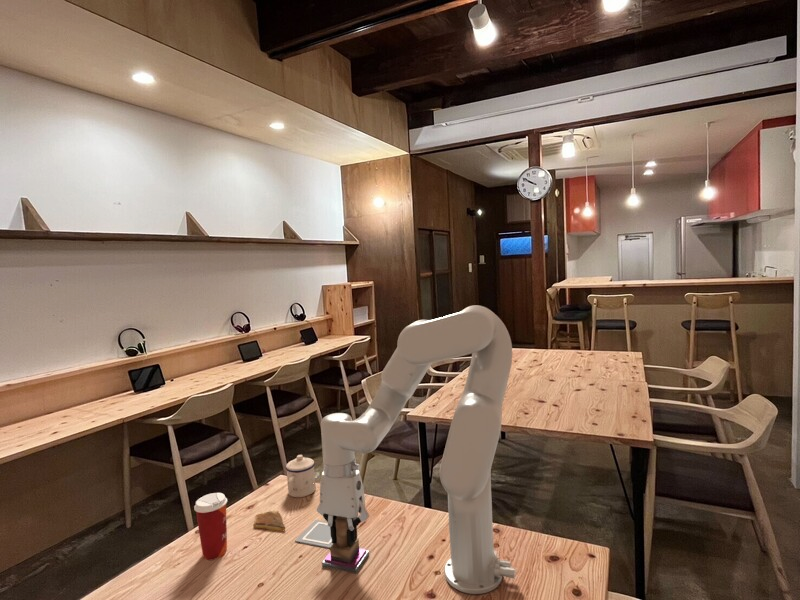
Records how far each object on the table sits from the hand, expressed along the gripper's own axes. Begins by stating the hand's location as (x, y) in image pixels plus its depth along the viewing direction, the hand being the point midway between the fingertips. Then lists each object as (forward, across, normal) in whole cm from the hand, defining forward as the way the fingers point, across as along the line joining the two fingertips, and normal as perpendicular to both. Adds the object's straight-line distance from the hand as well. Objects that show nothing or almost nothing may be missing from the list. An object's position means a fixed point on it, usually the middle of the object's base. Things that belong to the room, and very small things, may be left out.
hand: (344, 540), depth 104 cm
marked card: (+5, +11, -8) cm, 14 cm away
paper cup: (+5, +34, +6) cm, 35 cm away
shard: (+6, +28, -10) cm, 30 cm away
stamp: (+3, 0, 0) cm, 3 cm away
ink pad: (+5, 0, 0) cm, 5 cm away
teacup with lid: (+5, +30, -26) cm, 40 cm away
